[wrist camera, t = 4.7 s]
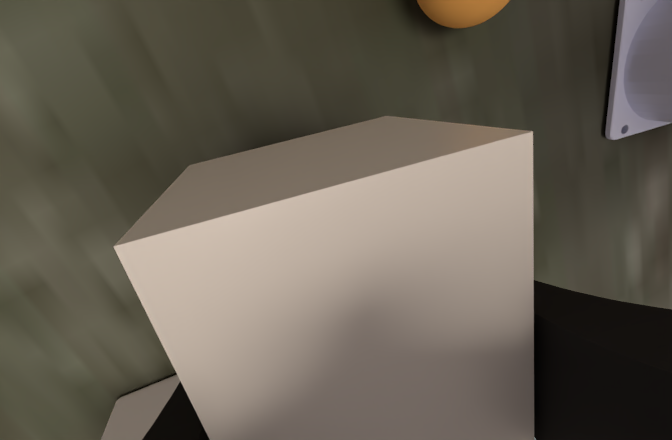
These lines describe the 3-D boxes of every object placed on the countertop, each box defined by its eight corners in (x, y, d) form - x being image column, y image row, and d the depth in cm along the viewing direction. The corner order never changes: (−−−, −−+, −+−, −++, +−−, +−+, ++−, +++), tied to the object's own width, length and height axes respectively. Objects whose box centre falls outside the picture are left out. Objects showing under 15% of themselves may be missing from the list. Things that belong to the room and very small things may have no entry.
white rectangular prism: (189, 164, 10) (113, 246, 4) (386, 115, 11) (533, 131, 5) (280, 407, 13) (302, 624, 8) (423, 355, 14) (534, 517, 9)
